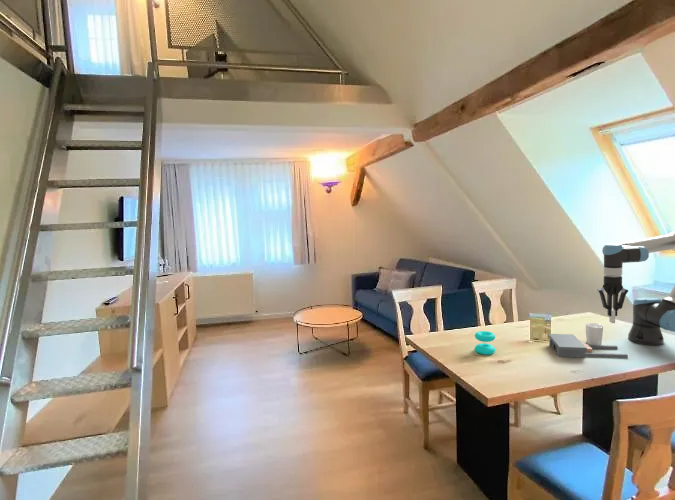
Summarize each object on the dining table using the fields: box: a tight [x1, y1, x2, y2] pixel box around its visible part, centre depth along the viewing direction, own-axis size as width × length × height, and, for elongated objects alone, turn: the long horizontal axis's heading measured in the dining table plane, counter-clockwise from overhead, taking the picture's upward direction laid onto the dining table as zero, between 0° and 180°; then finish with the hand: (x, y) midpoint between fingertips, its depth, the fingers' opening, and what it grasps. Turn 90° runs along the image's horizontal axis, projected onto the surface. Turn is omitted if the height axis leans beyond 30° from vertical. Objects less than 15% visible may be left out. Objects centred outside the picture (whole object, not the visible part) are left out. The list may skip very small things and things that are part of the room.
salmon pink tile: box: [581, 342, 593, 353], centre depth 209 cm, size 14×8×3 cm, turn 77°
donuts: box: [474, 330, 496, 356], centre depth 214 cm, size 10×10×10 cm
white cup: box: [585, 322, 604, 345], centre depth 218 cm, size 8×8×10 cm
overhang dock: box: [548, 333, 629, 359], centre depth 207 cm, size 31×20×6 cm, turn 77°
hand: (612, 322), depth 204 cm, fingers closed
